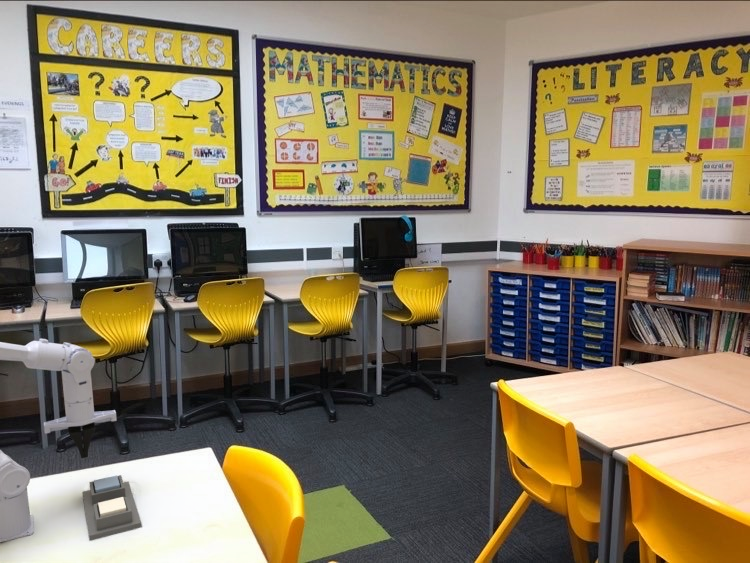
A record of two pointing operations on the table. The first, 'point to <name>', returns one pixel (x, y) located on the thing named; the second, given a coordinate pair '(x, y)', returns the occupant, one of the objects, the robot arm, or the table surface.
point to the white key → (111, 507)
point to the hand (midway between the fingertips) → (84, 456)
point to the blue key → (106, 484)
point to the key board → (115, 521)
